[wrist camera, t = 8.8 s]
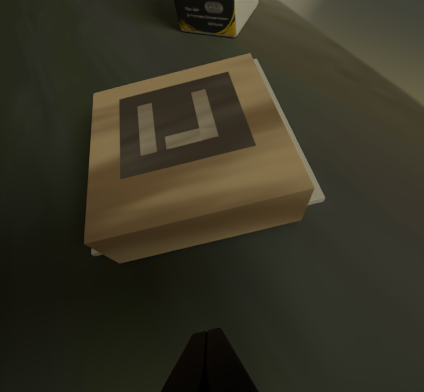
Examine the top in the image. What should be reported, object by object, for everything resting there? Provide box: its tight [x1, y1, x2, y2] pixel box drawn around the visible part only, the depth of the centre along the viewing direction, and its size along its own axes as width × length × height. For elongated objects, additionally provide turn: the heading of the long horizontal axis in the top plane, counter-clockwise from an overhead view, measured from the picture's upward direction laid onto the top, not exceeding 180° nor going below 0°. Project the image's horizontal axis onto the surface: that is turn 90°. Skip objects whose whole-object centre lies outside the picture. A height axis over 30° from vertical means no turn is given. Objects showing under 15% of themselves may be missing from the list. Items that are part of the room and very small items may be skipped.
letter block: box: [84, 53, 315, 263], centre depth 17 cm, size 4×12×12 cm
